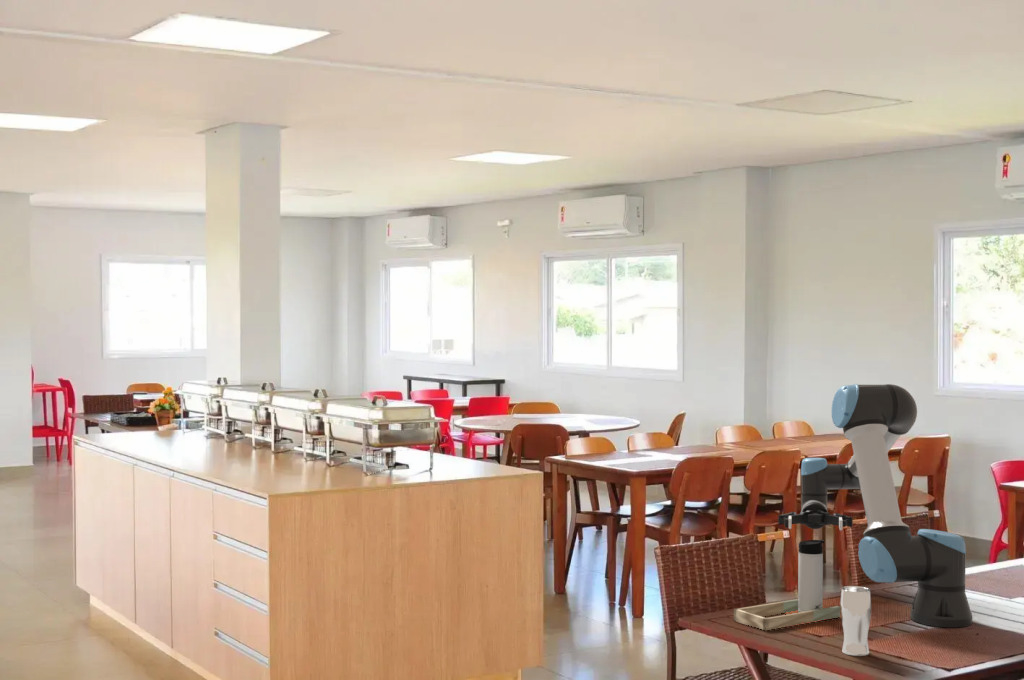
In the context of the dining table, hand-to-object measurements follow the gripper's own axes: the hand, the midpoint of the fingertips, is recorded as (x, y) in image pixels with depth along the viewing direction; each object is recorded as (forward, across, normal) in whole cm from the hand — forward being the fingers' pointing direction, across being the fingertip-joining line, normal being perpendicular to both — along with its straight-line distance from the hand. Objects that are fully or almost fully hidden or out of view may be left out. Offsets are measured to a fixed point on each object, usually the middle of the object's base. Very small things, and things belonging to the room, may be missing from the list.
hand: (815, 524), depth 319 cm
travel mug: (+11, +1, -23) cm, 25 cm away
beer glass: (+45, -8, -24) cm, 51 cm away
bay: (+17, +8, -23) cm, 29 cm away
